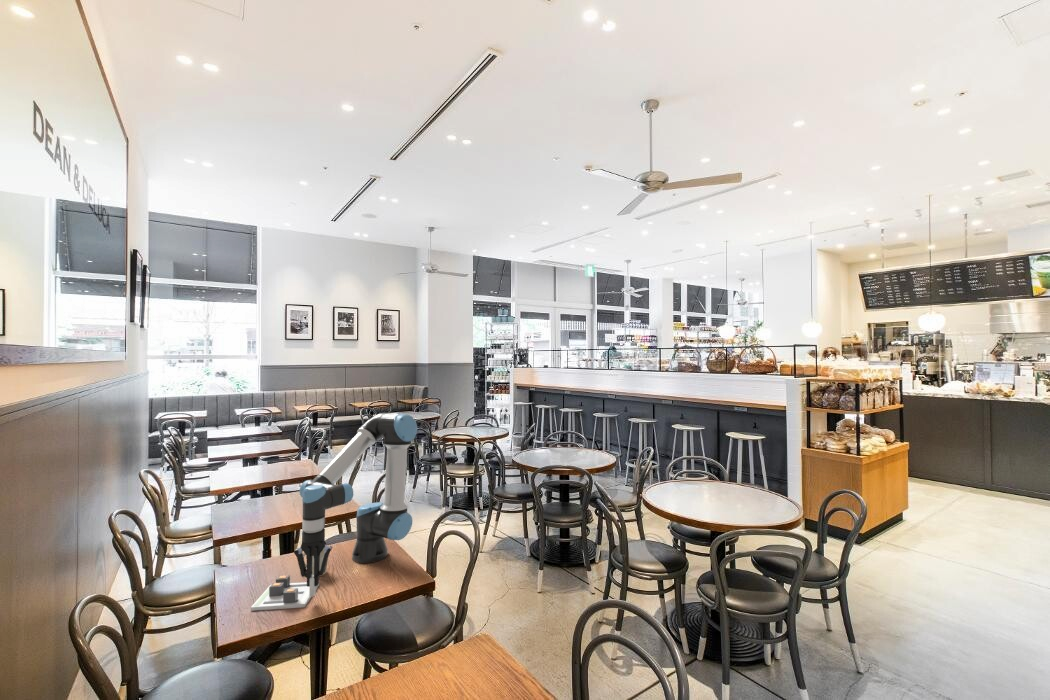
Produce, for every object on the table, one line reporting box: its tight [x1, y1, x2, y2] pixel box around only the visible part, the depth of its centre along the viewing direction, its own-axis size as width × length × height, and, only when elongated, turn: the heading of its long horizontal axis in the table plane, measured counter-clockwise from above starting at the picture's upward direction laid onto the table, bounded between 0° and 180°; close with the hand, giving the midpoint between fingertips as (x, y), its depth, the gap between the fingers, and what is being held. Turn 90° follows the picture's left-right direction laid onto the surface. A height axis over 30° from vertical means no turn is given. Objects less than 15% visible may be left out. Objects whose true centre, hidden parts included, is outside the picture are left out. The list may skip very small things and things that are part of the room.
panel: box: [250, 575, 320, 612], centre depth 173 cm, size 18×17×5 cm
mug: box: [302, 549, 329, 575], centre depth 193 cm, size 8×13×10 cm, turn 78°
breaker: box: [283, 588, 298, 603], centre depth 167 cm, size 4×3×4 cm
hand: (312, 594), depth 168 cm, fingers closed
